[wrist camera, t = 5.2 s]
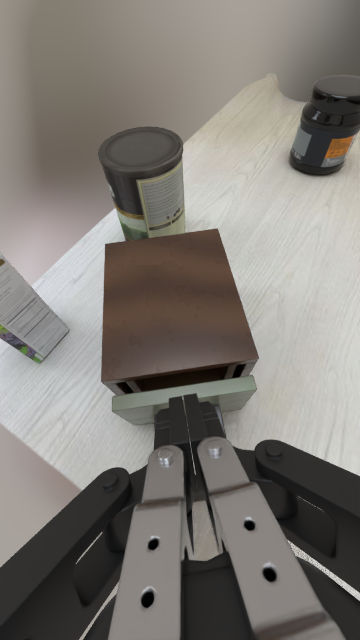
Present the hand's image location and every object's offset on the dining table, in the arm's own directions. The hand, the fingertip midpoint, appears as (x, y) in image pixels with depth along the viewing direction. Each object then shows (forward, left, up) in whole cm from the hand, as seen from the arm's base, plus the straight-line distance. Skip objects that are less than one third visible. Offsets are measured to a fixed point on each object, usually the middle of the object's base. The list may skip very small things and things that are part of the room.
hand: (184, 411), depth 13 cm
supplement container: (+33, +47, -16) cm, 60 cm away
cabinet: (0, +12, -15) cm, 19 cm away
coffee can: (-1, +31, -16) cm, 35 cm away
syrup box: (-18, +15, -16) cm, 28 cm away
